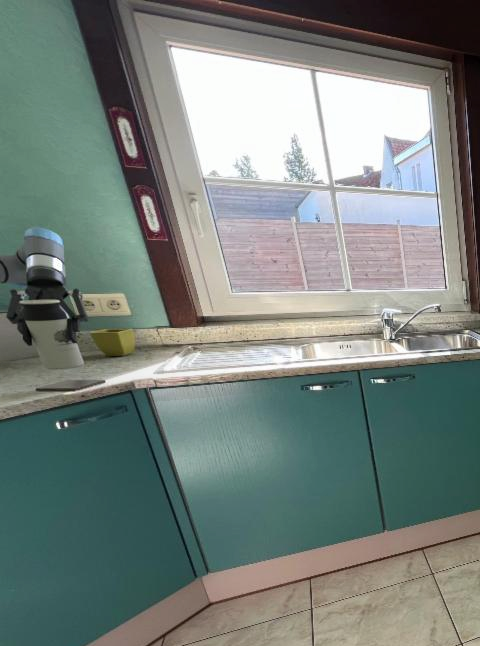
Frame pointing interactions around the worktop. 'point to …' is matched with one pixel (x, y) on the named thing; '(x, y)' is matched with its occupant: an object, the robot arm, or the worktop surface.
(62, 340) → the travel mug
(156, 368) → the worktop surface
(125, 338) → the flower pot
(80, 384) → the coaster
